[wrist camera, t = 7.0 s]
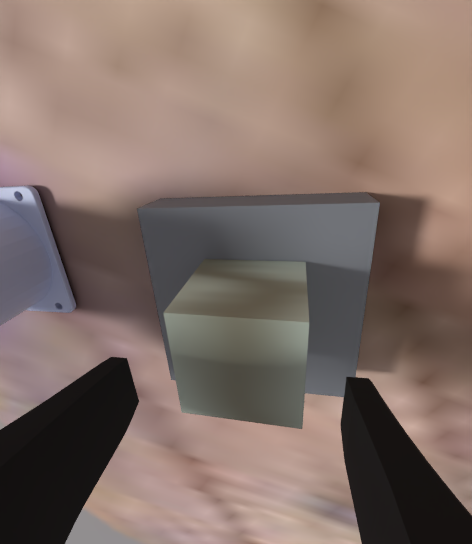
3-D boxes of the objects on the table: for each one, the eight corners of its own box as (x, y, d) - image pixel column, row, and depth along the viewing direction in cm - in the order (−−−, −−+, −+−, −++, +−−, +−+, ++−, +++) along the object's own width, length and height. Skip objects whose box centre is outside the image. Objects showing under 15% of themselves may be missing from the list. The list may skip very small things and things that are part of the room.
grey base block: (188, 346, 19) (171, 379, 17) (164, 197, 15) (136, 208, 13) (343, 358, 18) (352, 397, 15) (363, 190, 13) (379, 202, 11)
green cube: (212, 338, 15) (181, 412, 11) (204, 259, 13) (163, 312, 9) (301, 346, 14) (302, 429, 10) (305, 261, 12) (309, 322, 8)
